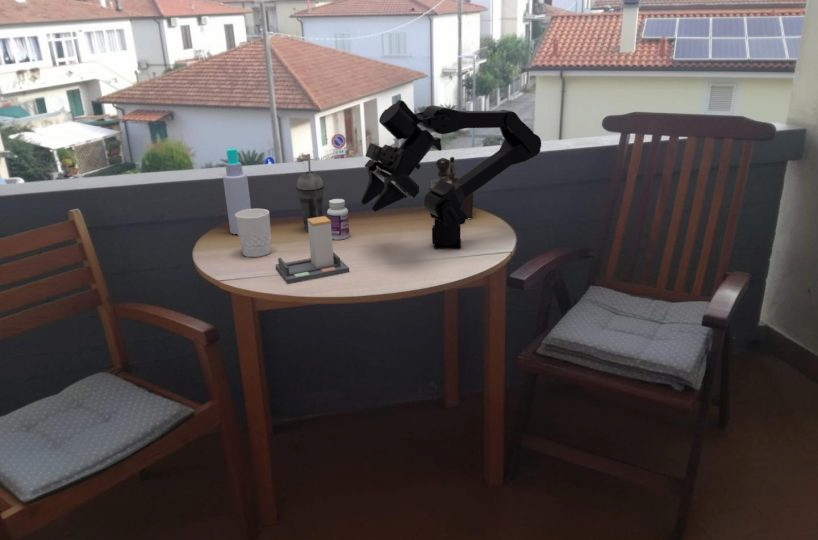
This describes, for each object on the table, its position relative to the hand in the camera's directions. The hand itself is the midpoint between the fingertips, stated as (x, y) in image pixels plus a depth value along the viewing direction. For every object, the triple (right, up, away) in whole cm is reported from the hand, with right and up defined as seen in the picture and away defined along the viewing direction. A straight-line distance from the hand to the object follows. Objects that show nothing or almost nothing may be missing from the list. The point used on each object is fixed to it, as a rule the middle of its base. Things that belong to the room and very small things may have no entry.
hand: (367, 206), depth 142 cm
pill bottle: (-9, -6, +21) cm, 23 cm away
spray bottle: (-35, -4, +26) cm, 44 cm away
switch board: (-12, -14, -1) cm, 19 cm away
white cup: (-28, -10, +11) cm, 31 cm away
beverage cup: (-16, -4, +27) cm, 31 cm away
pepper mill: (+21, 0, +34) cm, 40 cm away
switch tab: (-10, -13, 0) cm, 16 cm away
